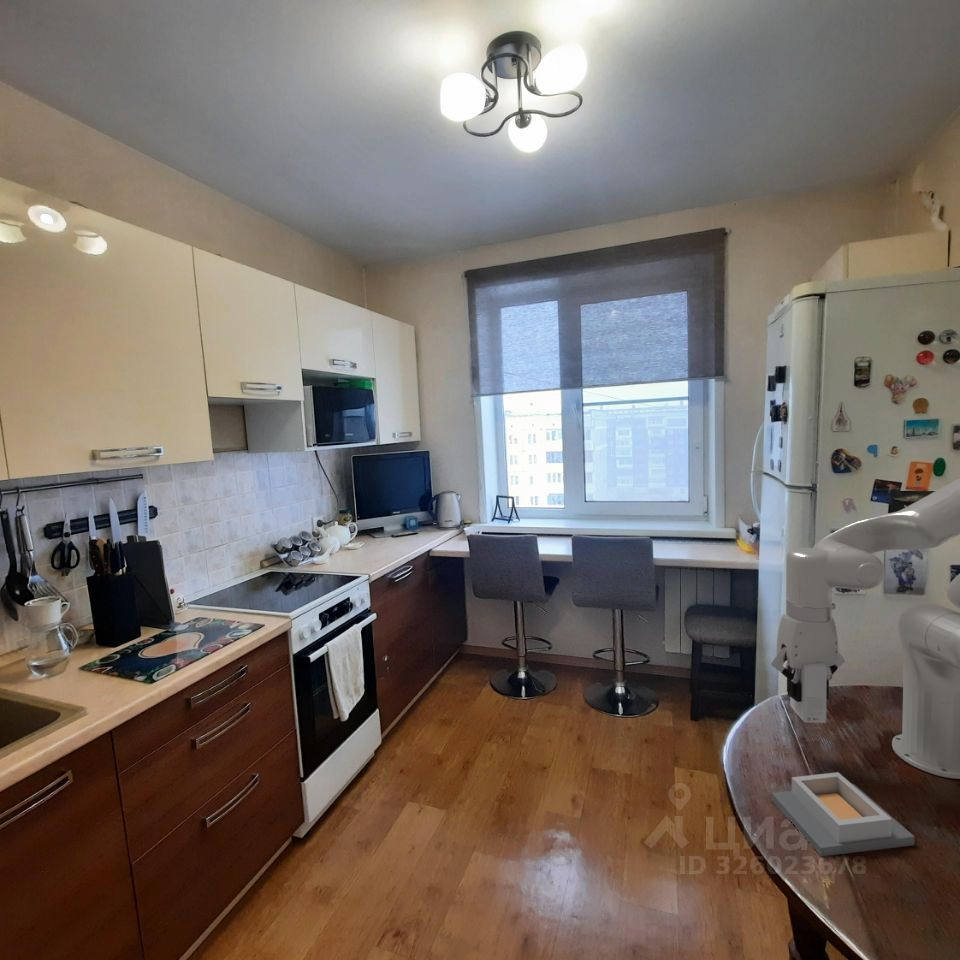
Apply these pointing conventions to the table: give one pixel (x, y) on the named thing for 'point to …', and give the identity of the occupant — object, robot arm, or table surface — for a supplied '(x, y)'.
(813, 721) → the skincare box
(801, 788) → the panel
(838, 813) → the button
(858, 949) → the table surface
